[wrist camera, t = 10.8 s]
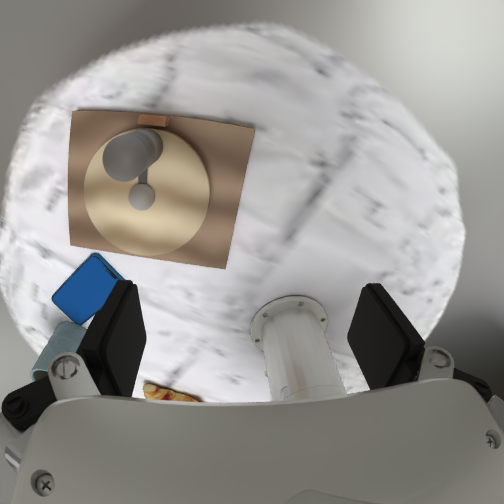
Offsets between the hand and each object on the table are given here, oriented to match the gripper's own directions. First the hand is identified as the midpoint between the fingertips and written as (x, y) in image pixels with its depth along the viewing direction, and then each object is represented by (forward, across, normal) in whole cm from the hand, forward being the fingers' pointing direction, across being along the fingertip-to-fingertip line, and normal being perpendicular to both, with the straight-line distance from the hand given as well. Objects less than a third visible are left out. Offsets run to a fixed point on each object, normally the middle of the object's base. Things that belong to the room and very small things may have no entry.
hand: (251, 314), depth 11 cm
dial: (+23, +10, +1) cm, 25 cm away
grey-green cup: (+26, +29, +28) cm, 48 cm away
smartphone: (+26, +23, +17) cm, 39 cm away
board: (+25, +10, +1) cm, 27 cm away
